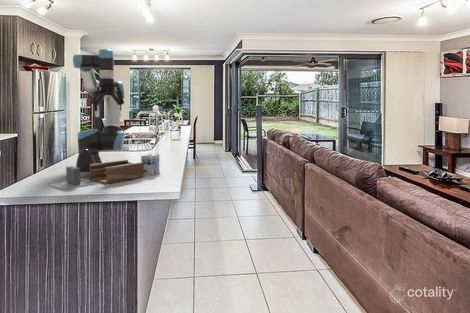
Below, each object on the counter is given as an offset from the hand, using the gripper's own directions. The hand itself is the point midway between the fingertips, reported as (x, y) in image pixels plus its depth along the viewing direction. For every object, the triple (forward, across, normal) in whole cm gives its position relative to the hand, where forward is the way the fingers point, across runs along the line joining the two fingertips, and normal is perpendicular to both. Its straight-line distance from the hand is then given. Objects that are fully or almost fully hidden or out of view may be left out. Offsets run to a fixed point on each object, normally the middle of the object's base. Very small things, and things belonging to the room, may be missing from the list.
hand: (108, 116), depth 219 cm
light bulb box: (+32, +13, -20) cm, 40 cm away
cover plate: (+32, -31, -16) cm, 47 cm away
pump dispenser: (+32, -16, -2) cm, 36 cm away
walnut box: (+32, -9, -20) cm, 39 cm away
